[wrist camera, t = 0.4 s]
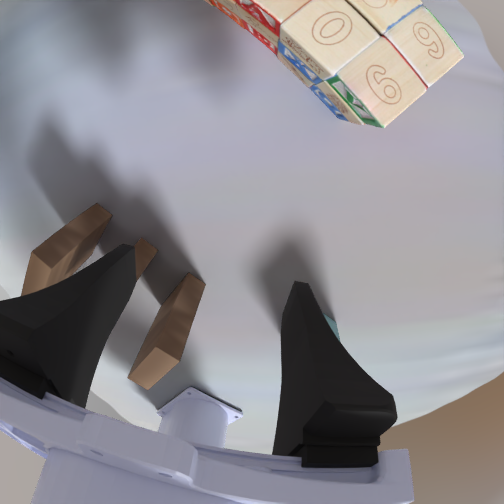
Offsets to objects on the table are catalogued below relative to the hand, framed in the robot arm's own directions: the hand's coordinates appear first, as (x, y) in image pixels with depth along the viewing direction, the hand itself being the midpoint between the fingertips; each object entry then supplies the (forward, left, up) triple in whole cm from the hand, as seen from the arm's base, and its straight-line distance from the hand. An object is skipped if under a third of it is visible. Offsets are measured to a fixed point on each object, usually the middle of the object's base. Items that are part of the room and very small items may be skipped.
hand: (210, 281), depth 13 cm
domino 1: (-10, +9, -11) cm, 17 cm away
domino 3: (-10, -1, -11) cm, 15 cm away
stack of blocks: (+14, +9, -11) cm, 20 cm away
